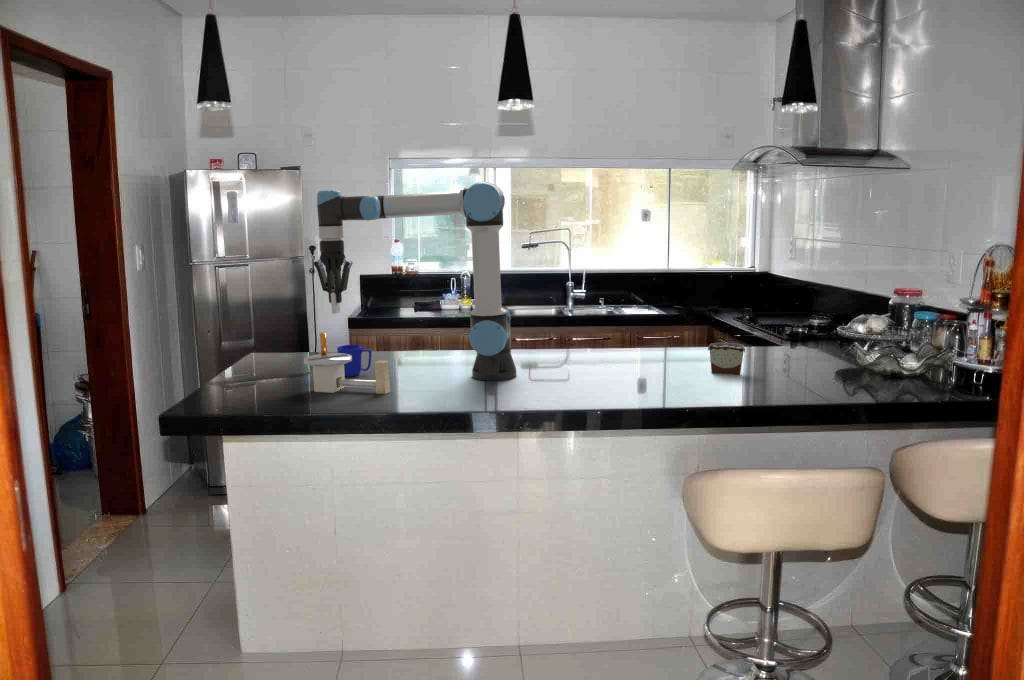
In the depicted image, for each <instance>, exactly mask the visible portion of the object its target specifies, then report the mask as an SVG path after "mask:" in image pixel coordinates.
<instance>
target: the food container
mask: <svg viewBox="0 0 1024 680" xmlns="http://www.w3.org/2000/svg"><path fill="white" fill-rule="evenodd" d="M707 351H709V359H710V373H711V374H712V375H724V376H738V377H740V376H741V374H742V373H741V372H742V363H743V358H744V357H743V356H744V353H746V348H745V345H743V344H740V343H736V342H714V343H710V344H709V345H708V348H707Z"/></svg>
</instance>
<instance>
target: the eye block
mask: <svg viewBox="0 0 1024 680" xmlns="http://www.w3.org/2000/svg"><path fill="white" fill-rule="evenodd" d="M312 374H313V392H315V393H316V392H317V393H331V394H333V393H336V392H339V391H341V390H342V388H343V389H345V388H344V386H337V384H336V379H346V376H345V373H344V364H341V365H334V366H312ZM340 389H341V390H340Z"/></svg>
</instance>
